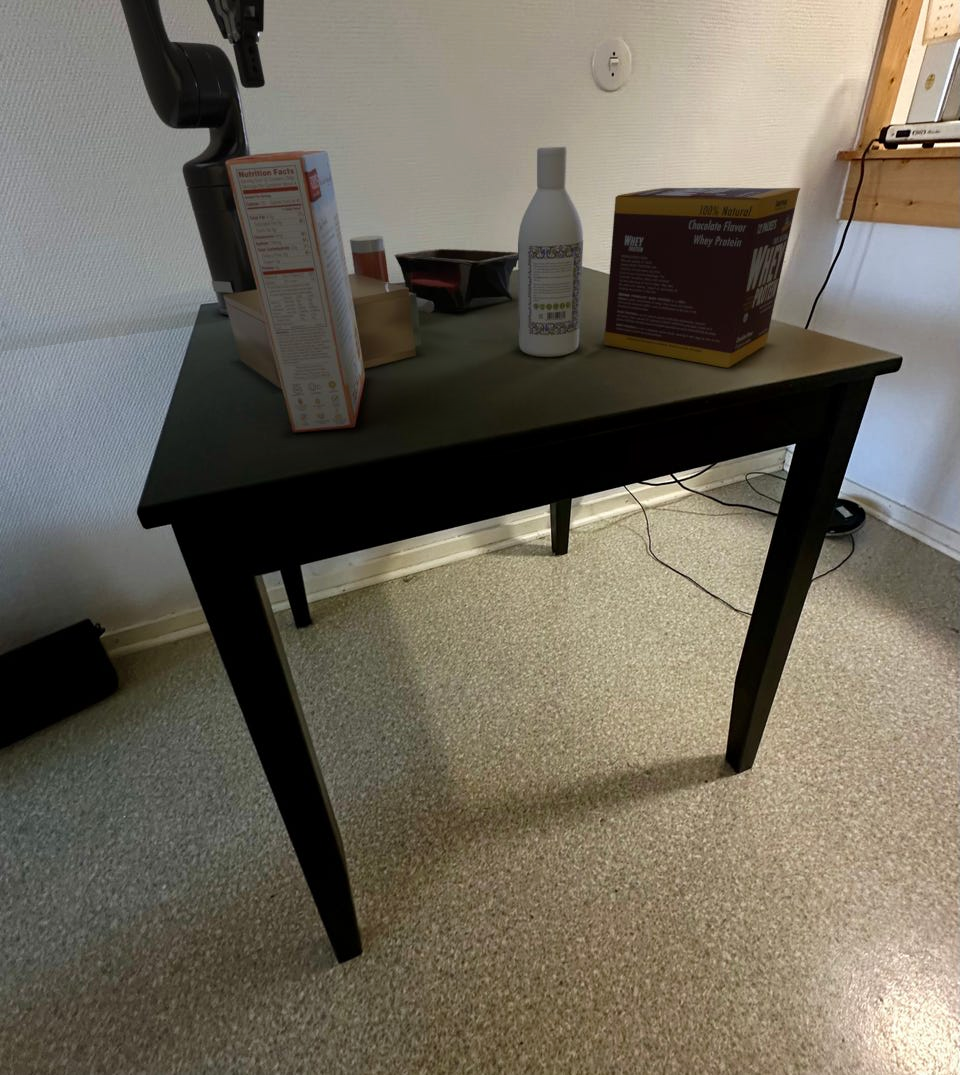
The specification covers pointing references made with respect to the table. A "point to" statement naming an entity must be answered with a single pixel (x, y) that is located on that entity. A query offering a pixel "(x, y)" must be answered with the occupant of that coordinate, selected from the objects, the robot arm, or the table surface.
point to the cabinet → (377, 322)
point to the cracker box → (302, 283)
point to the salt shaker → (369, 257)
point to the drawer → (416, 306)
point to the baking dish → (457, 275)
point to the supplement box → (697, 270)
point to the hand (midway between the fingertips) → (253, 87)
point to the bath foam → (550, 263)
